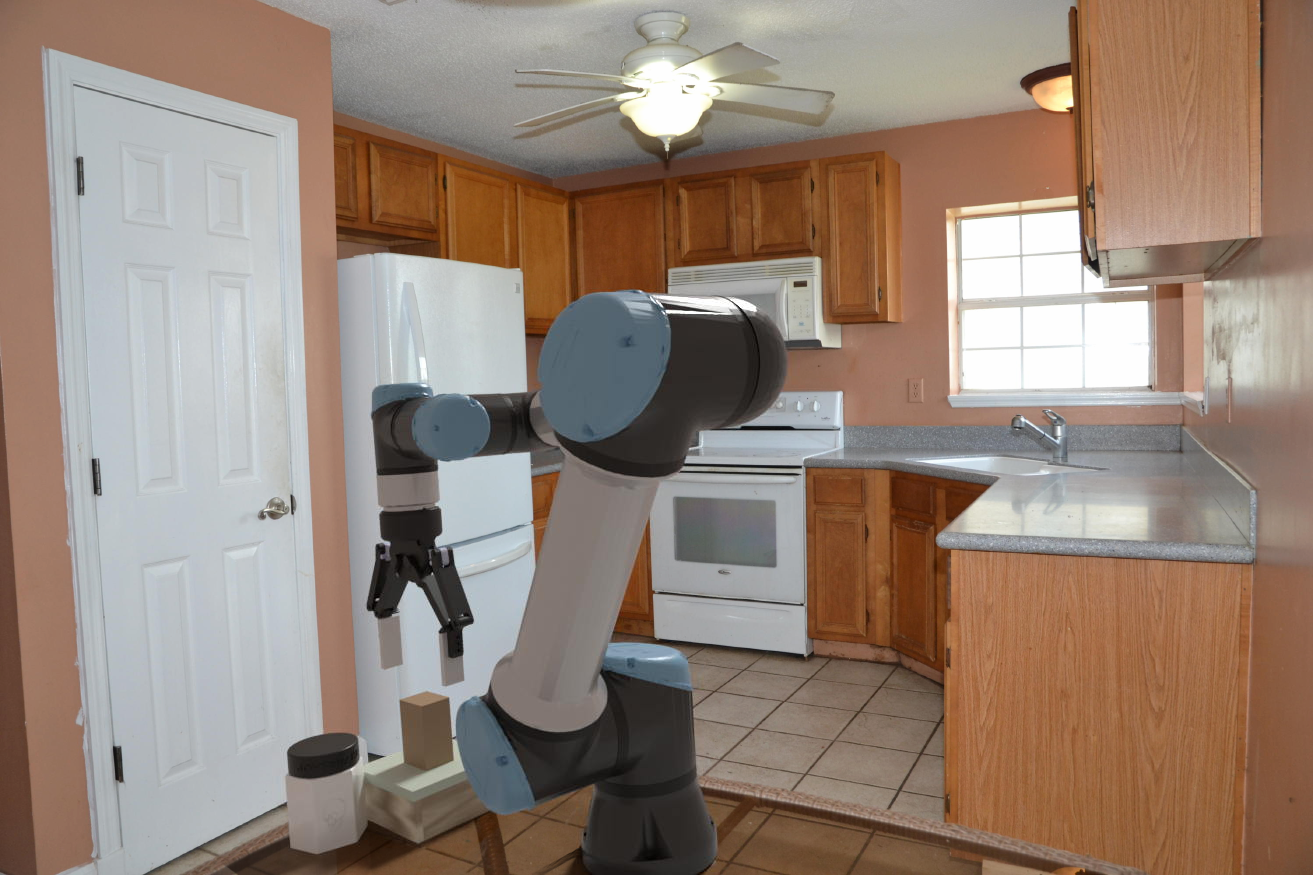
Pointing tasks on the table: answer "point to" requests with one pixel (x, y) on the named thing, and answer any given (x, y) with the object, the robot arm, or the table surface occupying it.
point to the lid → (420, 751)
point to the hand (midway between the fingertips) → (421, 674)
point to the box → (423, 810)
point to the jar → (325, 792)
